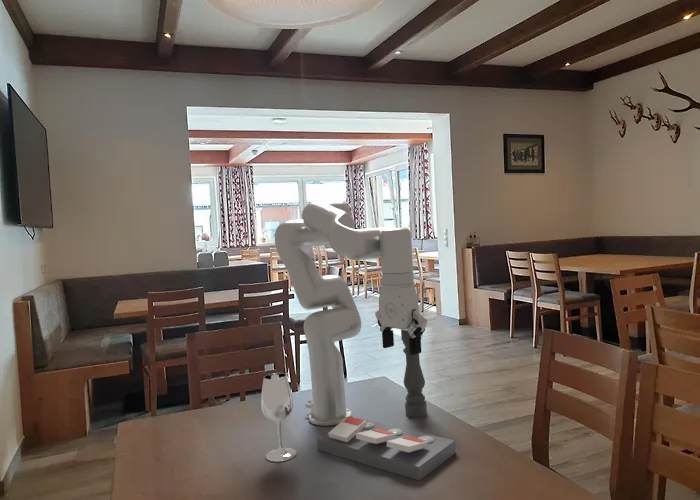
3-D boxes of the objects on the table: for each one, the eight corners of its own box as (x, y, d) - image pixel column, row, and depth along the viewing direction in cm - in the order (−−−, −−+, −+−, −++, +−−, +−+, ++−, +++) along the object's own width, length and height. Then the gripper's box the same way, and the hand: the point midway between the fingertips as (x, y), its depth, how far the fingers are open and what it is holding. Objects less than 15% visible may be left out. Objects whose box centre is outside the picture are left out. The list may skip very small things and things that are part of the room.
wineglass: (302, 449, 134) (296, 371, 133) (288, 463, 126) (282, 381, 125) (274, 447, 136) (268, 371, 135) (259, 460, 129) (253, 380, 128)
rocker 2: (355, 438, 126) (356, 432, 126) (376, 433, 132) (376, 428, 132) (376, 443, 122) (376, 437, 122) (396, 438, 128) (396, 433, 128)
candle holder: (426, 418, 149) (420, 330, 148) (404, 417, 150) (398, 331, 149) (427, 410, 155) (422, 326, 154) (406, 410, 157) (401, 326, 155)
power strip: (305, 446, 136) (304, 433, 136) (345, 425, 148) (344, 413, 148) (419, 480, 113) (418, 465, 113) (455, 452, 126) (454, 439, 126)
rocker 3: (386, 446, 120) (386, 440, 120) (406, 441, 126) (406, 435, 126) (408, 452, 116) (409, 446, 116) (428, 446, 122) (428, 440, 122)
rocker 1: (329, 437, 132) (328, 432, 131) (348, 420, 138) (347, 415, 137) (347, 442, 128) (346, 437, 127) (366, 424, 134) (365, 420, 133)
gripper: (363, 279, 131) (367, 347, 132) (411, 283, 117) (415, 360, 118) (386, 276, 135) (390, 342, 136) (435, 279, 121) (438, 353, 122)
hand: (401, 350), depth 127 cm, fingers open, 9 cm apart
